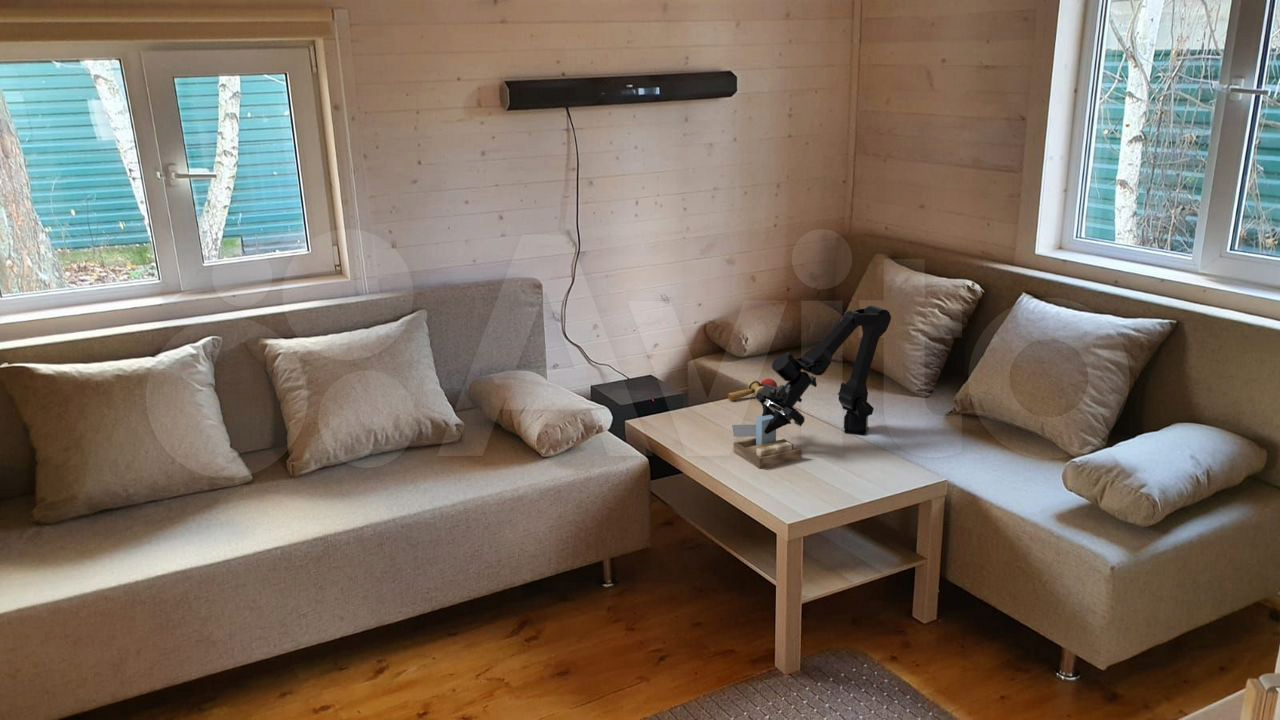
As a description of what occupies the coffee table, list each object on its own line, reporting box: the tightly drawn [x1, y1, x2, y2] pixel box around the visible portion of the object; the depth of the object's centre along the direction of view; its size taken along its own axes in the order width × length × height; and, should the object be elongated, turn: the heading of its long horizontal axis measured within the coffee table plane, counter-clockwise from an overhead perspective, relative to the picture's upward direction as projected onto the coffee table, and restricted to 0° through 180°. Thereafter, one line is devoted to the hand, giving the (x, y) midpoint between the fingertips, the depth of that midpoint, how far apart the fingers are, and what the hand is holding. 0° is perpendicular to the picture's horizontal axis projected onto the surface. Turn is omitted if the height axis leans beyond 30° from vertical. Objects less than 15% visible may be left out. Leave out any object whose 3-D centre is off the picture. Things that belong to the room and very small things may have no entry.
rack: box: [733, 437, 803, 470], centre depth 279 cm, size 14×14×4 cm
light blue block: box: [755, 415, 777, 445], centre depth 283 cm, size 5×3×10 cm, turn 116°
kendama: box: [727, 378, 778, 402], centre depth 329 cm, size 8×6×18 cm
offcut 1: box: [756, 446, 775, 457], centre depth 274 cm, size 5×2×4 cm, turn 116°
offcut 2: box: [773, 441, 793, 454], centre depth 276 cm, size 5×2×4 cm, turn 116°
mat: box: [731, 424, 756, 438], centre depth 299 cm, size 10×10×1 cm
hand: (762, 431), depth 282 cm, fingers closed on light blue block, 3 cm apart
